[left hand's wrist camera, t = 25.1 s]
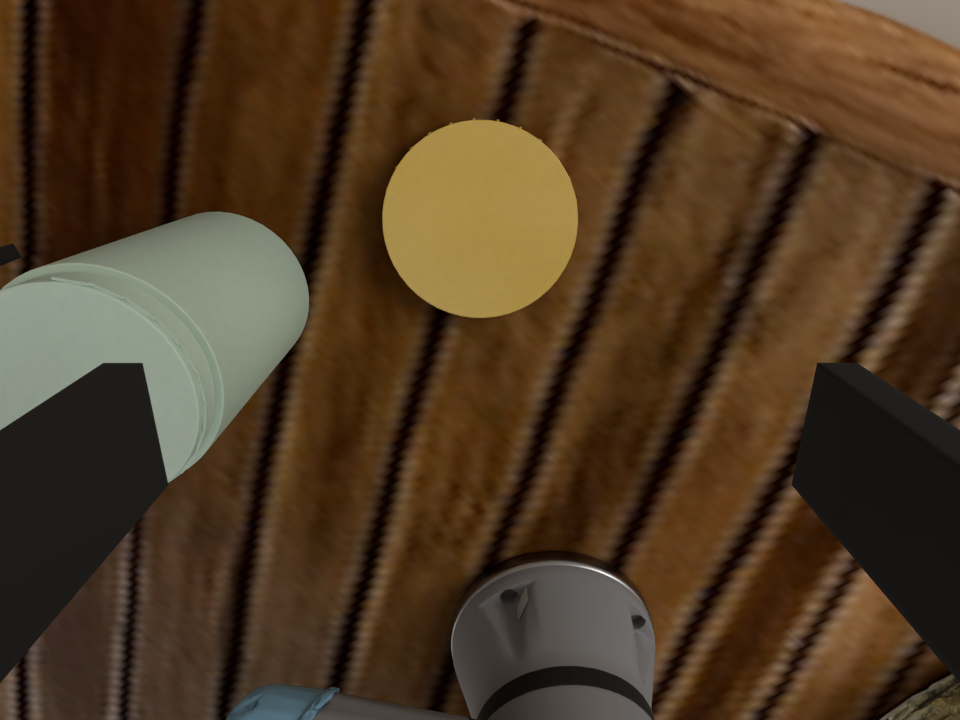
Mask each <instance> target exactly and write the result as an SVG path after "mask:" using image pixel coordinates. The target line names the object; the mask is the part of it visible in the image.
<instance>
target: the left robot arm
mask: <svg viewBox="0 0 960 720" xmlns="http://www.w3.org/2000/svg"><path fill="white" fill-rule="evenodd" d="M167 486H168V480H167V476H166V471H165V466H164V461H163V457H162V452H161V447H160V442H159V438H158V433H157V428H156V424H155V419H154V414H153V409H152V405H151V400H150V395H149V391H148V386H147V381H146V376H145V372H144V367H143V363H102V364H101V365H99V366H98V367H96V368H95V369H93V370H92V371H90V372H89V373H87V374H85V375H84V376H82V377H81V378H79V379H78V380H76V381H75V382H73V383H72V384H70V385H69V386H67V387H66V388H64V389H62V390H61V391H59V392H58V393H56V394H55V395H53V396H52V397H50V398H49V399H47V400H46V401H44V402H43V403H41V404H39V405H38V406H36V407H35V408H33V409H32V410H30V411H29V412H27V413H26V414H24V415H23V416H21V417H20V418H18V419H16V420H15V421H13V422H12V423H10V424H9V425H7V426H6V427H4V428H3V429H1V430H0V683H1V681H2V680H3V679H4V678H5V677H6V676H7V674H8V673H9V672H10V671H11V670H12V668H13V667H14V666H15V665H16V664H17V663H18V661H19V660H20V659H21V658H22V657H23V656H24V654H25V653H26V652H27V651H28V650H29V648H30V647H31V646H32V645H33V644H34V643H35V641H36V640H37V639H38V638H39V637H40V635H41V634H42V633H43V632H44V631H45V630H46V628H47V627H48V626H49V625H50V624H51V623H52V621H53V620H54V619H55V618H56V617H57V615H58V614H59V613H60V612H61V611H62V610H63V608H64V607H65V606H66V605H67V604H68V602H69V601H70V600H71V599H72V598H73V597H74V595H75V594H76V593H77V592H78V591H79V589H80V588H81V587H82V586H83V585H84V584H85V582H86V581H87V580H88V579H89V578H90V577H91V575H92V574H93V573H94V572H95V571H96V569H97V568H98V567H99V566H100V565H101V564H102V562H103V561H104V560H105V559H106V558H107V556H108V555H109V554H110V553H111V552H112V551H113V549H114V548H115V547H116V546H117V545H118V544H119V542H120V541H121V540H122V539H123V538H124V536H125V535H126V534H127V533H128V532H129V531H130V529H131V528H132V527H133V526H134V525H135V523H136V522H137V521H138V520H139V519H140V518H141V516H142V515H143V514H144V513H145V512H146V510H147V509H148V508H149V507H150V506H151V505H152V503H153V502H154V501H155V500H156V499H157V498H158V496H159V495H160V494H161V493H162V492H163V490H164V489H165V488H166V487H167ZM792 486H793V487H794V488H795V489H796V490H797V492H798V493H799V494H800V495H801V496H802V498H803V499H804V500H805V501H806V502H807V503H808V505H809V506H810V507H811V508H812V509H813V510H814V512H815V513H816V514H817V515H818V516H819V518H820V519H821V520H822V521H823V522H824V523H825V525H826V526H827V527H828V528H829V529H830V531H831V532H832V533H833V534H834V535H835V536H836V538H837V539H838V540H839V541H840V542H841V544H842V545H843V546H844V547H845V548H846V549H847V551H848V552H849V553H850V554H851V555H852V556H853V558H854V559H855V560H856V561H857V562H858V564H859V565H860V566H861V567H862V568H863V569H864V571H865V572H866V573H867V574H868V575H869V577H870V578H871V579H872V580H873V581H874V582H875V584H876V585H877V586H878V587H879V588H880V589H881V591H882V592H883V593H884V594H885V595H886V597H887V598H888V599H889V600H890V601H891V602H892V604H893V605H894V606H895V607H896V608H897V610H898V611H899V612H900V613H901V614H902V615H903V617H904V618H905V619H906V620H907V621H908V623H909V624H910V625H911V626H912V627H913V628H914V630H915V631H916V632H917V633H918V634H919V635H920V637H921V638H922V639H923V640H924V641H925V643H926V644H927V645H928V646H929V647H930V648H931V650H932V651H933V652H934V653H935V654H936V656H937V657H938V658H939V659H940V660H941V661H942V663H943V664H944V665H945V666H946V667H947V668H948V670H949V671H950V672H951V673H952V674H953V676H954V677H955V678H956V679H957V680H958V681H959V683H960V430H959V429H957V428H956V427H954V426H953V425H951V424H950V423H948V422H947V421H945V420H944V419H942V418H940V417H939V416H937V415H936V414H934V413H933V412H931V411H930V410H928V409H927V408H925V407H924V406H922V405H921V404H919V403H917V402H916V401H914V400H913V399H911V398H910V397H908V396H907V395H905V394H904V393H902V392H901V391H899V390H898V389H896V388H894V387H893V386H891V385H890V384H888V383H887V382H885V381H884V380H882V379H881V378H879V377H878V376H876V375H874V374H873V373H871V372H870V371H868V370H867V369H865V368H864V367H862V366H861V365H859V364H858V363H817V367H816V372H815V376H814V381H813V386H812V391H811V395H810V400H809V405H808V409H807V414H806V419H805V424H804V428H803V433H802V438H801V442H800V447H799V452H798V457H797V461H796V466H795V471H794V476H793V480H792ZM451 651H452V657H453V663H454V668H455V672H456V675H457V678H458V681H459V683H460V686H461V689H462V692H463V695H464V698H465V701H466V704H467V706H468V709H469V712H470V715H471V718H468V717H465V716H459V715H453V714H448V713H442V712H437V711H431V710H425V709H420V708H414V707H408V706H403V705H398V704H393V703H388V702H383V701H378V700H373V699H368V698H363V697H358V696H353V695H348V694H343V693H340V689H339V688H336V687H330V688H328V689H327V690H324V689H316V688H308V687H301V686H293V685H285V684H268V685H264V686H261V687H259V688H257V689H255V690H253V691H252V692H250V693H249V694H248V695H247V696H245V697H244V698H243V699H242V700H241V701H240V702H239V703H238V704H237V705H236V707H235V708H234V709H233V710H232V712H231V713H230V714H229V716H228V717H227V719H226V720H654V717H653V713H652V709H651V705H652V691H653V676H654V662H655V637H654V628H653V624H652V620H651V617H650V614H649V611H648V608H647V605H646V603H645V601H644V598H643V597H642V595H641V593H640V591H639V590H638V589H637V587H636V586H635V585H634V584H633V582H632V581H631V580H630V579H629V578H628V577H626V576H625V575H624V574H623V573H622V572H620V571H619V570H617V569H616V568H614V567H613V566H611V565H609V564H607V563H605V562H603V561H601V560H598V559H595V558H592V557H589V556H585V555H581V554H576V553H570V552H540V553H534V554H528V555H524V556H520V557H517V558H514V559H511V560H508V561H506V562H504V563H502V564H500V565H498V566H496V567H494V568H492V569H491V570H489V571H488V572H486V573H485V574H483V575H482V576H481V577H480V578H478V579H477V580H476V581H475V582H474V583H473V584H472V585H471V586H470V587H469V589H468V590H467V591H466V592H465V594H464V595H463V597H462V598H461V600H460V602H459V604H458V606H457V609H456V611H455V614H454V618H453V624H452V638H451Z"/></svg>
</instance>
